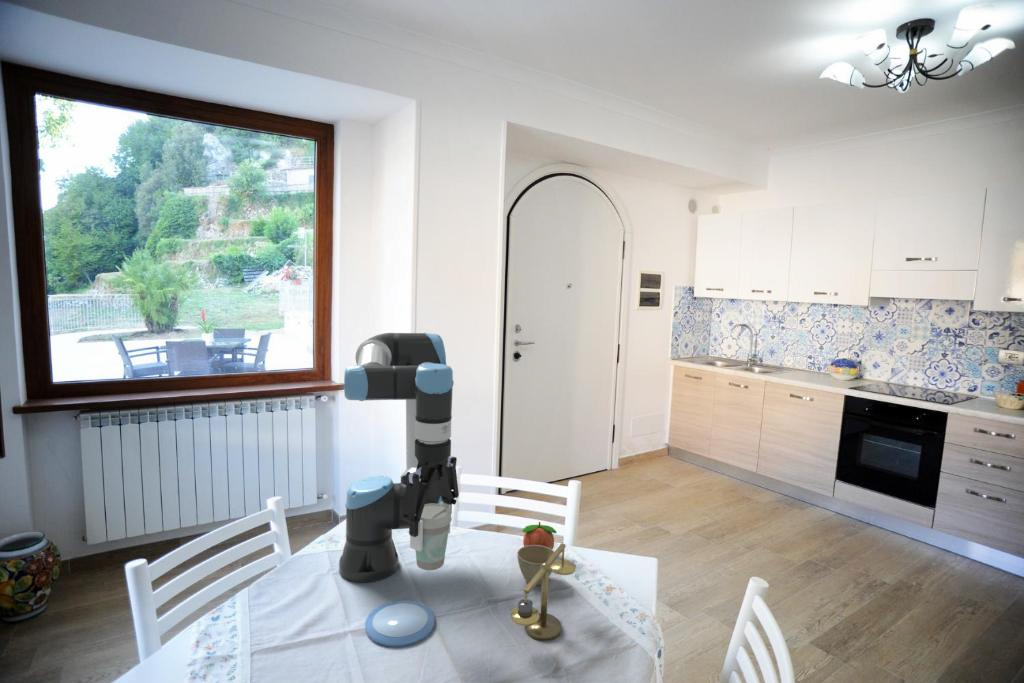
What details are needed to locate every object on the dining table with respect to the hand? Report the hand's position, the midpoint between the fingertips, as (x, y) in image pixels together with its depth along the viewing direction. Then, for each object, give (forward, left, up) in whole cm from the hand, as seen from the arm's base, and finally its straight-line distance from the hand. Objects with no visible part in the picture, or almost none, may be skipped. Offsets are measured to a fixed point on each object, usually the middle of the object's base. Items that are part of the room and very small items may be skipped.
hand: (430, 539), depth 120 cm
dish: (-6, -3, -21) cm, 22 cm away
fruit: (+2, +42, -21) cm, 47 cm away
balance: (+20, +15, -21) cm, 32 cm away
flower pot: (+8, +31, -21) cm, 39 cm away
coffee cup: (0, 0, -6) cm, 6 cm away
